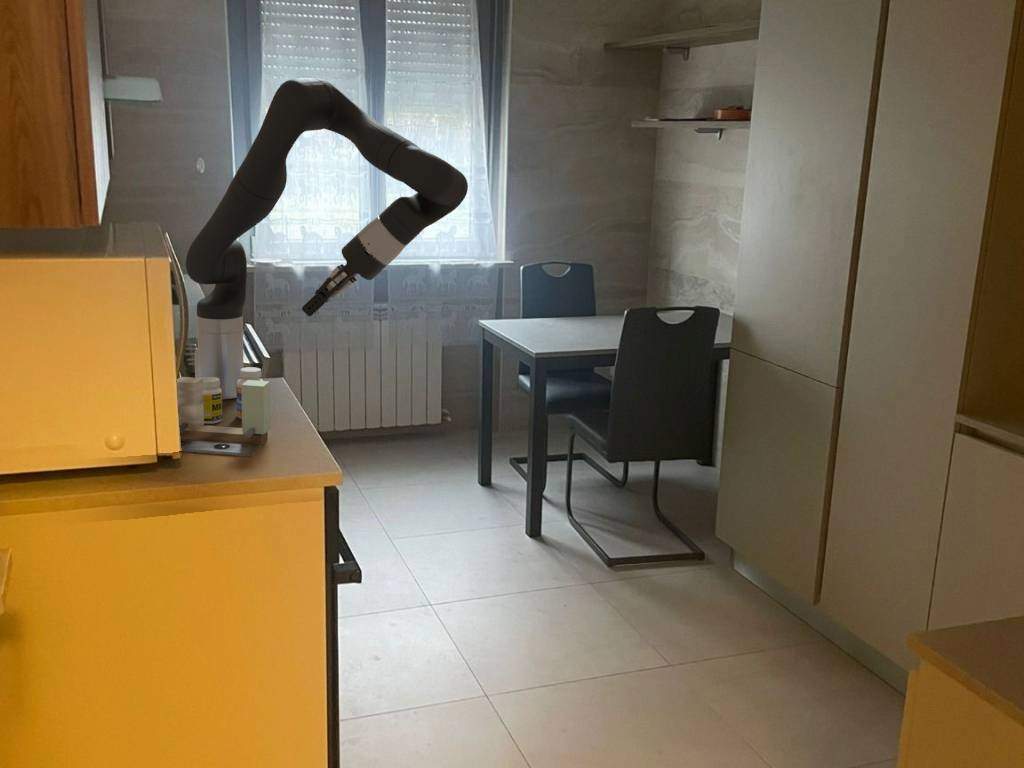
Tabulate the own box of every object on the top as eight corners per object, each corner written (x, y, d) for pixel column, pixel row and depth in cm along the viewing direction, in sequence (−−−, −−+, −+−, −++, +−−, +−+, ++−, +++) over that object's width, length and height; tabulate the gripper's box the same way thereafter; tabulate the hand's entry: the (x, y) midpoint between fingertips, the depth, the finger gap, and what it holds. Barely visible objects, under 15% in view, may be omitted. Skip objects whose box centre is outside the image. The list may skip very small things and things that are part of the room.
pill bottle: (232, 419, 189) (232, 371, 187) (241, 411, 194) (240, 365, 192) (260, 421, 189) (259, 373, 187) (268, 413, 194) (267, 367, 192)
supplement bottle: (214, 425, 185) (213, 383, 183) (192, 422, 186) (191, 380, 184) (227, 418, 189) (226, 377, 187) (204, 416, 190) (203, 375, 188)
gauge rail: (167, 445, 172) (165, 386, 169) (183, 433, 179) (181, 376, 176) (255, 452, 171) (254, 392, 168) (267, 440, 178) (267, 382, 175)
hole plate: (161, 450, 170) (161, 446, 169) (173, 441, 174) (172, 437, 174) (250, 456, 169) (250, 453, 169) (259, 447, 174) (259, 444, 173)
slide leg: (235, 438, 171) (234, 389, 169) (248, 427, 178) (248, 379, 175) (257, 440, 171) (257, 391, 168) (270, 428, 177) (269, 381, 175)
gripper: (367, 228, 175) (301, 291, 179) (351, 235, 162) (280, 302, 166) (396, 259, 176) (329, 321, 180) (381, 268, 163) (310, 334, 167)
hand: (306, 312), depth 173 cm, fingers closed
